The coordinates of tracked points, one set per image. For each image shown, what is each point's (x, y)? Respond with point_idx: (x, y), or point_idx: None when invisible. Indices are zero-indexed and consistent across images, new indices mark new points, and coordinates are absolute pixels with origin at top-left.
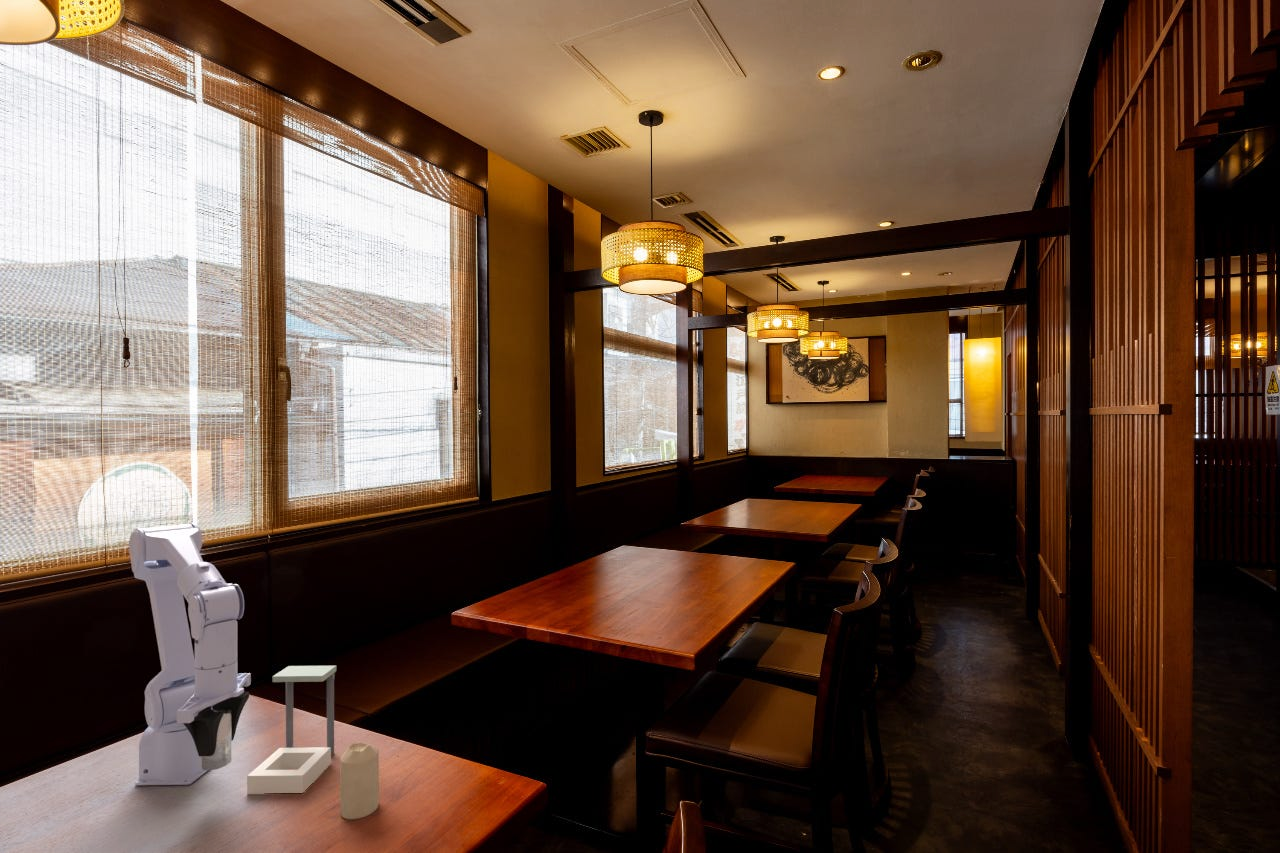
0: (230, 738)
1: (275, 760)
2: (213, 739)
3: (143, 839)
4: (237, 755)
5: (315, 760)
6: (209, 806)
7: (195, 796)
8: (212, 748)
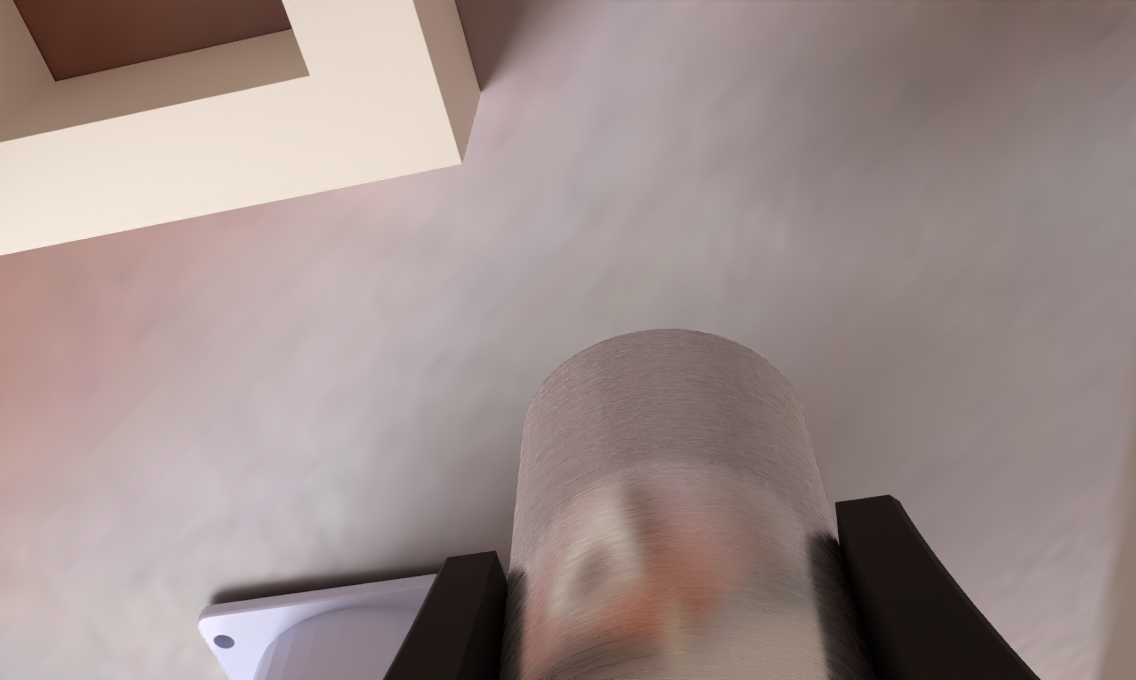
0: (605, 553)
1: (117, 117)
2: (1009, 661)
3: (1106, 353)
4: (95, 567)
5: None
6: (692, 252)
7: None
8: (934, 559)
